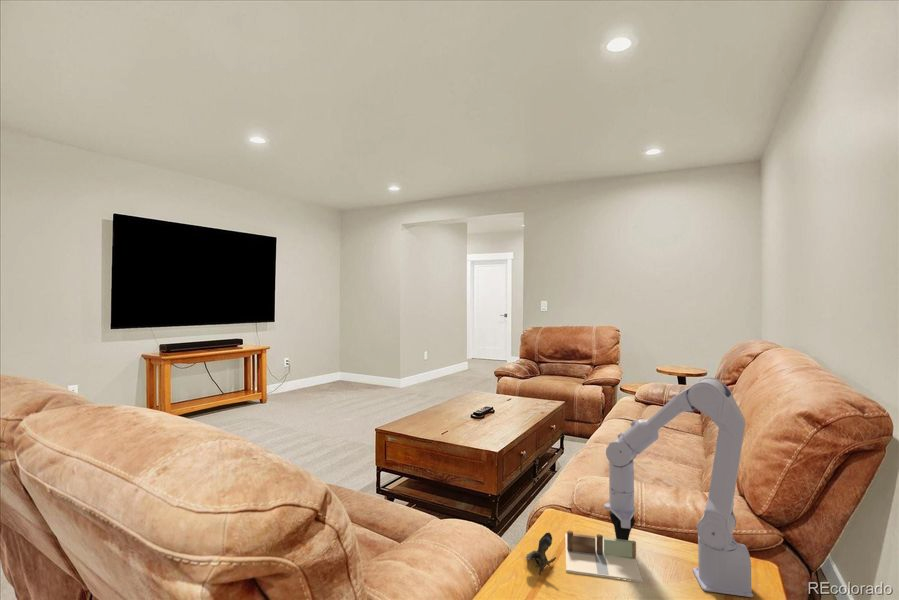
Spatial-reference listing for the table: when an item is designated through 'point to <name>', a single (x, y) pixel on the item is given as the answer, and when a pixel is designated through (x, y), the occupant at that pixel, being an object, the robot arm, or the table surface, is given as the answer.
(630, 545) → the fence panel
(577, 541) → the fence
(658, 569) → the table surface
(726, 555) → the robot arm
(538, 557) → the eagle figurine
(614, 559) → the card
